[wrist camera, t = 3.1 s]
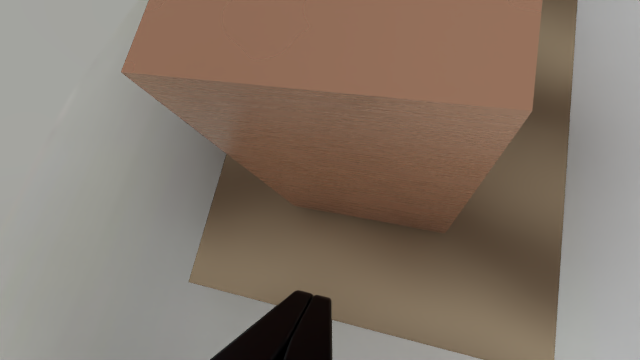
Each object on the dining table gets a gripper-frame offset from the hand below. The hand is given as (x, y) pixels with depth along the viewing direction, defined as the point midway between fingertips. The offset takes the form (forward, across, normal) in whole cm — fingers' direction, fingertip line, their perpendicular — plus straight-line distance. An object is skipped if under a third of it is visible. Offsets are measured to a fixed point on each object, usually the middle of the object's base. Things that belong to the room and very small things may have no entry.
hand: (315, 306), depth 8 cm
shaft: (+12, 0, -4) cm, 13 cm away
